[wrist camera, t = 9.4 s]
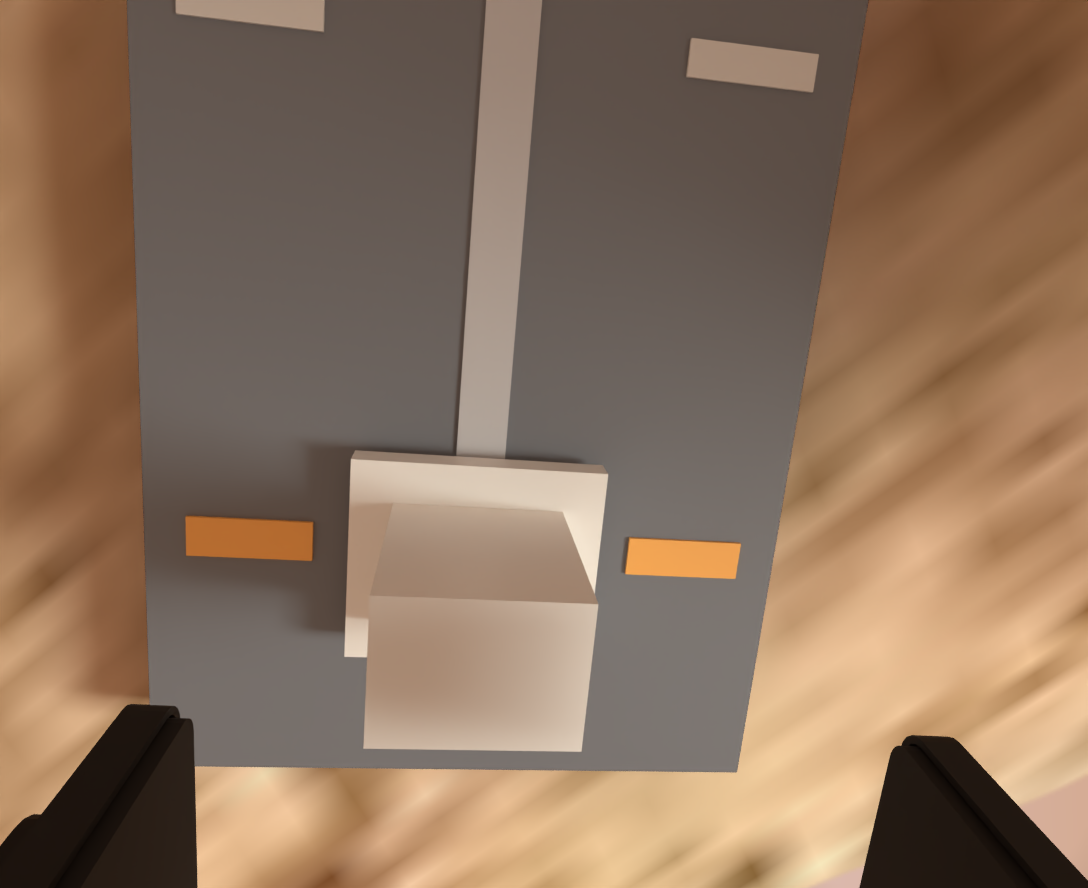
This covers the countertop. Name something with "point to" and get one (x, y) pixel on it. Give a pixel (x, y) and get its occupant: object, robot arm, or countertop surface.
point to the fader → (473, 599)
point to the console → (474, 330)
